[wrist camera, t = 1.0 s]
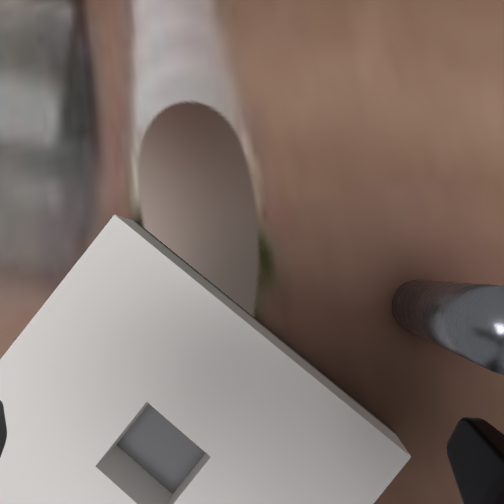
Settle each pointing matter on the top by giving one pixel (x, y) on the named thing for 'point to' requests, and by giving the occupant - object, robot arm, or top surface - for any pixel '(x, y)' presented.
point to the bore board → (174, 396)
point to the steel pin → (456, 318)
